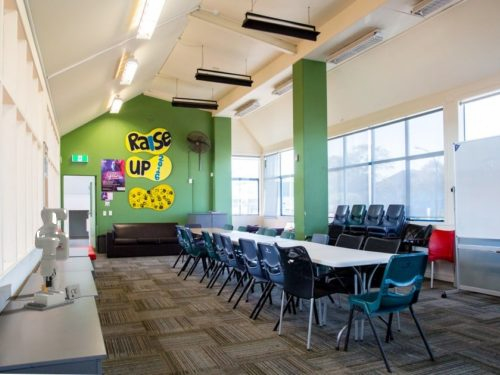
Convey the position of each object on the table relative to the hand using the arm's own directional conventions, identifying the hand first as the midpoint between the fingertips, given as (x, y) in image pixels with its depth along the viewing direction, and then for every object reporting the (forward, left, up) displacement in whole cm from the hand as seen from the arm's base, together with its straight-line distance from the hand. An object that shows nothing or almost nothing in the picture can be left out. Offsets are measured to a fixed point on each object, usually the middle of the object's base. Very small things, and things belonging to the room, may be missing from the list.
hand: (48, 287), depth 253 cm
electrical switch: (-2, +19, -11) cm, 22 cm away
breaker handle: (-4, 0, -4) cm, 5 cm away
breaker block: (+1, 0, -11) cm, 11 cm away
